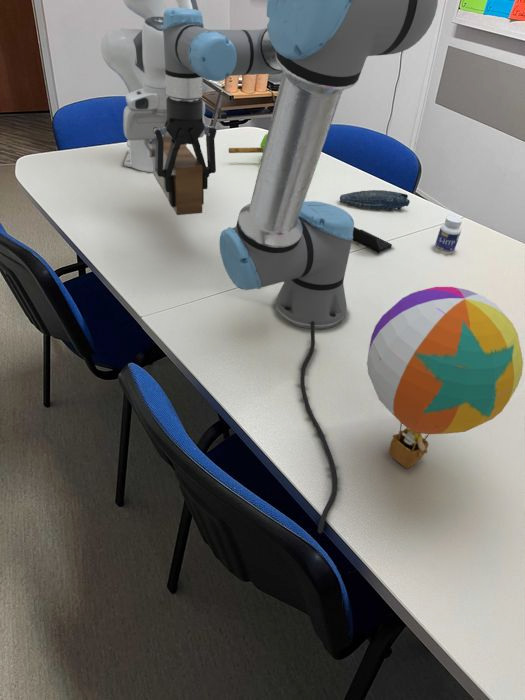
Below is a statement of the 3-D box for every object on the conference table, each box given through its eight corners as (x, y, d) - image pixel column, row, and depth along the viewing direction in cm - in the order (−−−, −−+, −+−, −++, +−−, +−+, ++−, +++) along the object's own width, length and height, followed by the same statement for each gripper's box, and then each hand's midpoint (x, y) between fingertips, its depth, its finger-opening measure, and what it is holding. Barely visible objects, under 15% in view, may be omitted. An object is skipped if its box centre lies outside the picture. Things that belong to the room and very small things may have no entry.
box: (202, 213, 122) (202, 166, 115) (177, 215, 120) (175, 168, 113) (175, 173, 140) (174, 131, 134) (153, 174, 138) (150, 132, 132)
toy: (317, 448, 82) (351, 286, 63) (393, 397, 93) (442, 246, 74) (418, 536, 71) (496, 372, 52) (491, 467, 82) (578, 310, 63)
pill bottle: (433, 251, 139) (442, 220, 133) (435, 243, 143) (444, 213, 137) (453, 256, 138) (464, 225, 132) (454, 247, 142) (465, 217, 136)
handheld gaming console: (396, 239, 139) (388, 216, 131) (384, 261, 138) (375, 240, 130) (358, 230, 145) (348, 208, 137) (347, 252, 144) (336, 231, 136)
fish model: (408, 214, 157) (412, 198, 153) (339, 207, 158) (341, 191, 154) (406, 206, 162) (410, 190, 159) (339, 199, 163) (341, 183, 160)
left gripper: (201, 94, 131) (201, 149, 139) (118, 94, 124) (124, 153, 133) (208, 100, 126) (208, 157, 135) (123, 101, 119) (128, 162, 128)
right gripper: (222, 92, 114) (220, 194, 128) (134, 93, 107) (142, 200, 122) (233, 101, 108) (230, 206, 123) (141, 102, 102) (149, 213, 116)
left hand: (166, 155), depth 134 cm, fingers closed on box, 6 cm apart
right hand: (186, 203), depth 122 cm, fingers closed on box, 6 cm apart
